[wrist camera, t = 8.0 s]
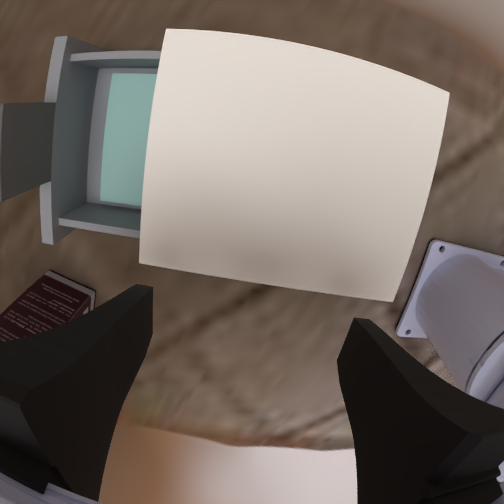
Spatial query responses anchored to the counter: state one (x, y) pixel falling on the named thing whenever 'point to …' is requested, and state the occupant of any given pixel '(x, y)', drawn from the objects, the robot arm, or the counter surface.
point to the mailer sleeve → (286, 164)
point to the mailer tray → (83, 140)
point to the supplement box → (45, 307)
